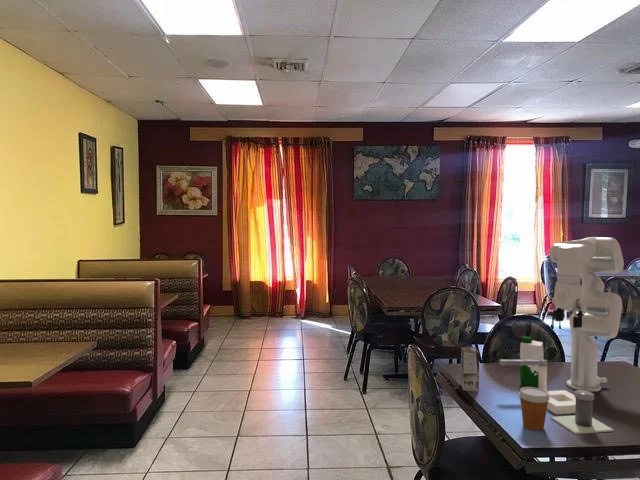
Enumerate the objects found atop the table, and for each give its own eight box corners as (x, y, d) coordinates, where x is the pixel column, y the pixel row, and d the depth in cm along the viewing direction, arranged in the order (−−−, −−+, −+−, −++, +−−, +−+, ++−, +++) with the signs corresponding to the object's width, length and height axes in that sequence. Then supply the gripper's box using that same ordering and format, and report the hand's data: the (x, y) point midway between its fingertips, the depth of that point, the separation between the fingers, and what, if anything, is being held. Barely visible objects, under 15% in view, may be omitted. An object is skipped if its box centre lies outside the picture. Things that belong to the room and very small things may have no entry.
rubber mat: (587, 416, 163) (587, 414, 163) (613, 431, 151) (613, 429, 151) (551, 418, 161) (551, 416, 161) (574, 434, 149) (575, 432, 149)
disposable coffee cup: (512, 421, 159) (513, 386, 159) (539, 420, 160) (539, 386, 160) (527, 433, 150) (528, 397, 149) (555, 432, 150) (556, 396, 150)
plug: (569, 420, 158) (570, 390, 158) (585, 419, 159) (585, 389, 159) (581, 428, 152) (582, 396, 152) (597, 426, 153) (598, 395, 153)
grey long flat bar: (545, 363, 185) (545, 359, 185) (548, 365, 182) (549, 361, 181) (499, 363, 185) (499, 359, 185) (502, 365, 181) (502, 361, 181)
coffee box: (479, 392, 187) (479, 352, 186) (462, 390, 188) (463, 351, 187) (476, 384, 196) (476, 346, 195) (460, 383, 197) (461, 346, 196)
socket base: (554, 391, 187) (554, 362, 187) (591, 412, 167) (591, 379, 166) (522, 393, 185) (523, 364, 185) (555, 414, 165) (556, 381, 164)
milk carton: (521, 379, 202) (522, 334, 201) (544, 383, 197) (545, 337, 196) (518, 385, 195) (518, 338, 194) (541, 389, 190) (542, 341, 189)
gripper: (544, 276, 179) (544, 319, 181) (576, 283, 162) (575, 330, 164) (561, 275, 181) (561, 318, 182) (595, 282, 164) (594, 329, 165)
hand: (568, 324), depth 173 cm, fingers open, 9 cm apart
